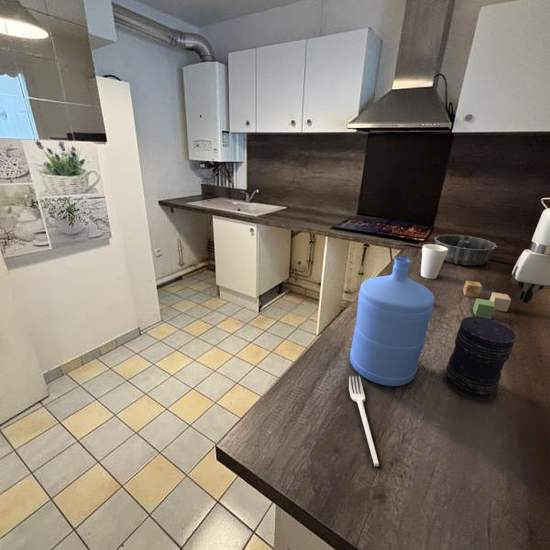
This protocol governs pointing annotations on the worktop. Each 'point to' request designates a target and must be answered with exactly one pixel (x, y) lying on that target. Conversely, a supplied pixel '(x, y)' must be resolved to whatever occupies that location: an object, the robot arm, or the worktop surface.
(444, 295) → the worktop surface
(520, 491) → the worktop surface
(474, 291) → the maple block
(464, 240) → the bundt pan
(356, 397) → the fork
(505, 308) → the beige block
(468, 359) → the dark blue cylinder
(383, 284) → the water jug
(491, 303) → the sage block
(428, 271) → the foam cup
